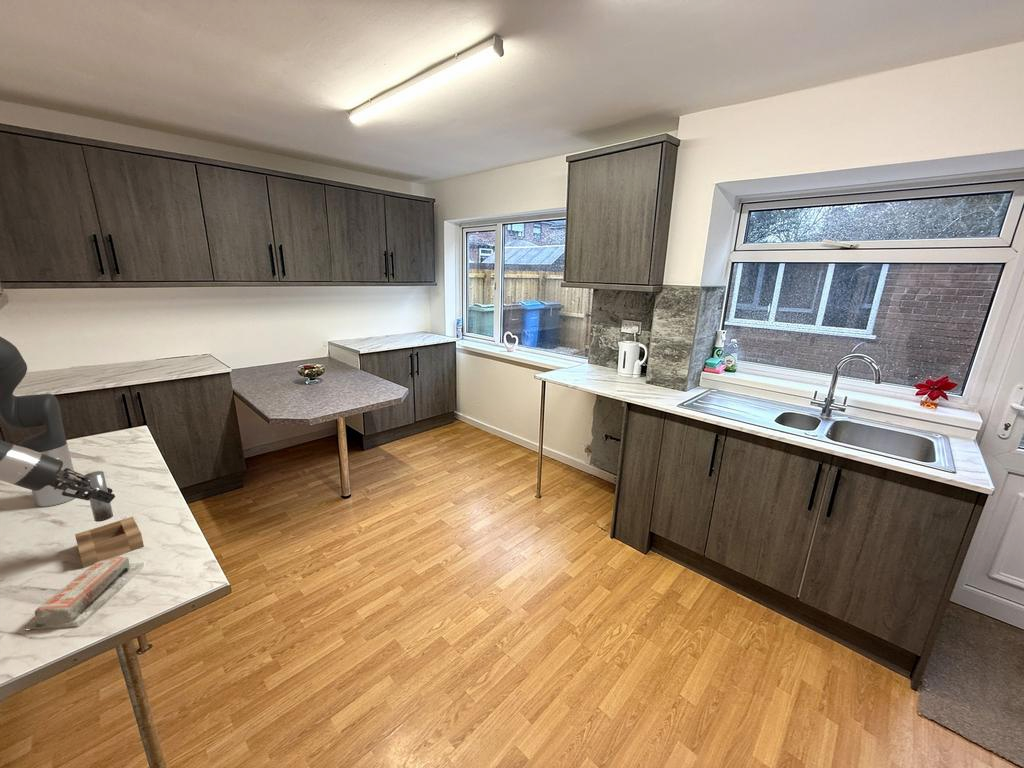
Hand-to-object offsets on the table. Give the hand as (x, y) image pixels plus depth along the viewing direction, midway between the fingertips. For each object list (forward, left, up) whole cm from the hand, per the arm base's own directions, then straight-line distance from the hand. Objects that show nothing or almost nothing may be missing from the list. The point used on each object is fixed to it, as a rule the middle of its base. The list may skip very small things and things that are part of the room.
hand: (110, 496), depth 103 cm
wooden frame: (0, -2, -14) cm, 14 cm away
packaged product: (+18, -7, -15) cm, 25 cm away
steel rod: (0, -2, -5) cm, 6 cm away
